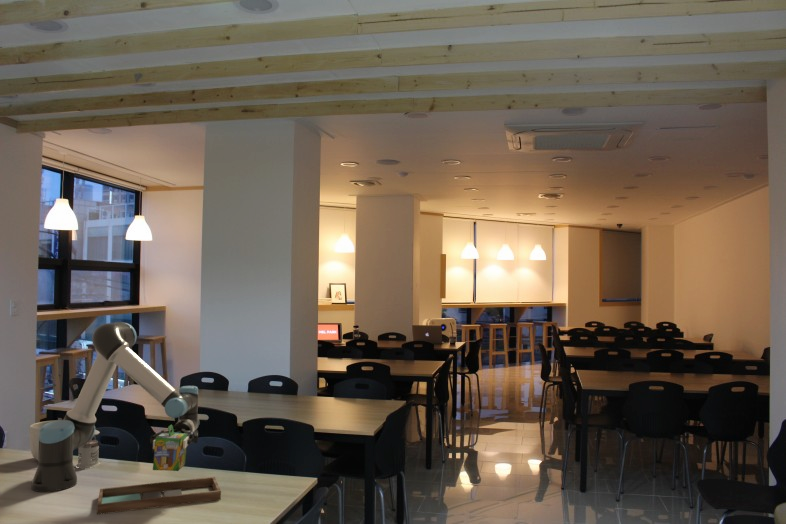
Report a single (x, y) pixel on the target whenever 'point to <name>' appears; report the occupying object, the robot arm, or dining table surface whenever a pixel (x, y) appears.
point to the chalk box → (169, 451)
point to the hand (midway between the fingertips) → (169, 444)
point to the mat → (121, 498)
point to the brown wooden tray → (158, 500)
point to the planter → (36, 437)
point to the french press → (89, 454)
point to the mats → (158, 493)
